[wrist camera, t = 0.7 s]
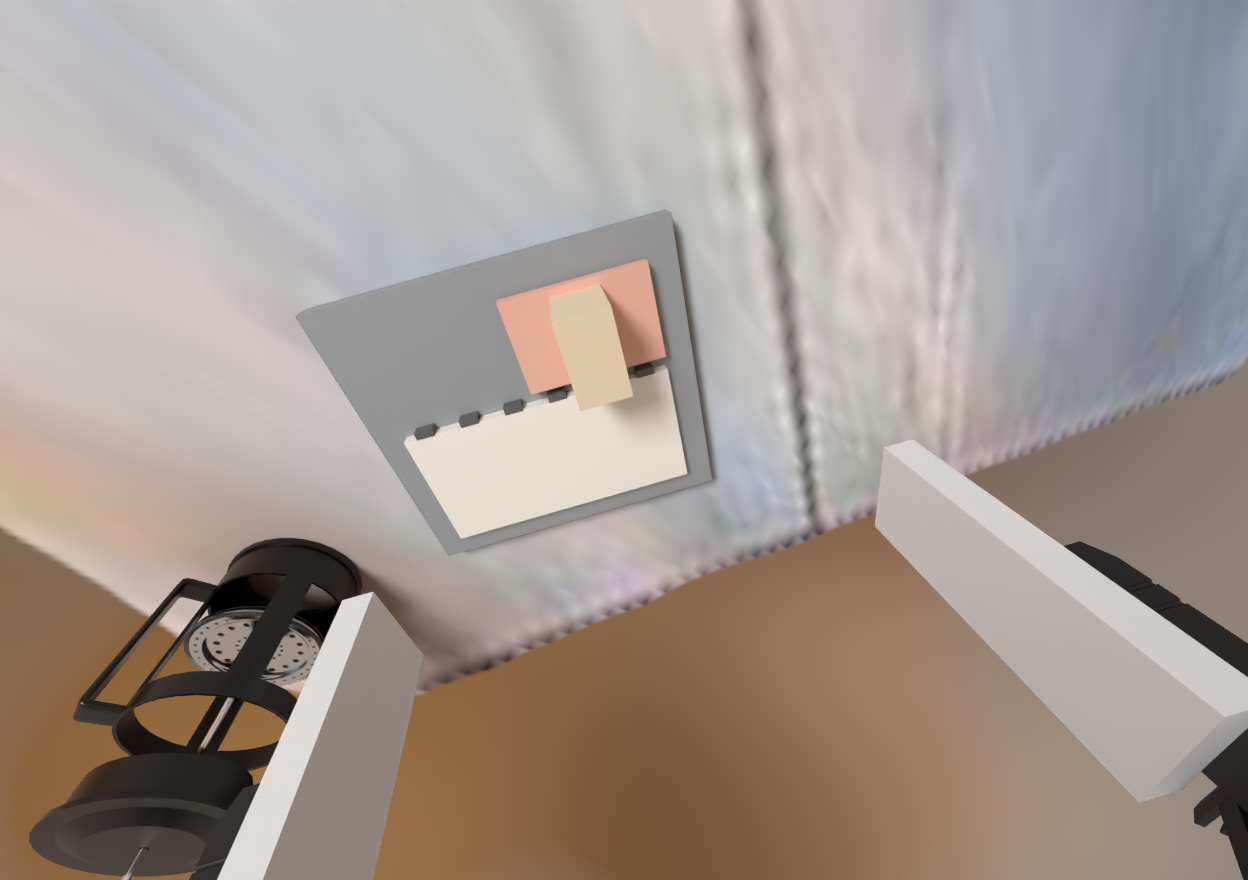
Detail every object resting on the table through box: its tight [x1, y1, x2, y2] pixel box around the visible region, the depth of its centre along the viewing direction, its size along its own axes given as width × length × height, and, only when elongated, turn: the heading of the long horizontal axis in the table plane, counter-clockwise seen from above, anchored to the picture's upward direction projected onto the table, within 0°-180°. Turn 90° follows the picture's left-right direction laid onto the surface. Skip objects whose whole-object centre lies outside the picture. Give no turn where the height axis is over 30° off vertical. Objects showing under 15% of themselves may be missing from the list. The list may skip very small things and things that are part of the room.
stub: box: [496, 259, 666, 411], centre depth 26 cm, size 9×6×6 cm, turn 103°
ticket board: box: [295, 210, 712, 556], centre depth 31 cm, size 22×20×2 cm
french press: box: [29, 538, 362, 880], centre depth 27 cm, size 12×9×23 cm
